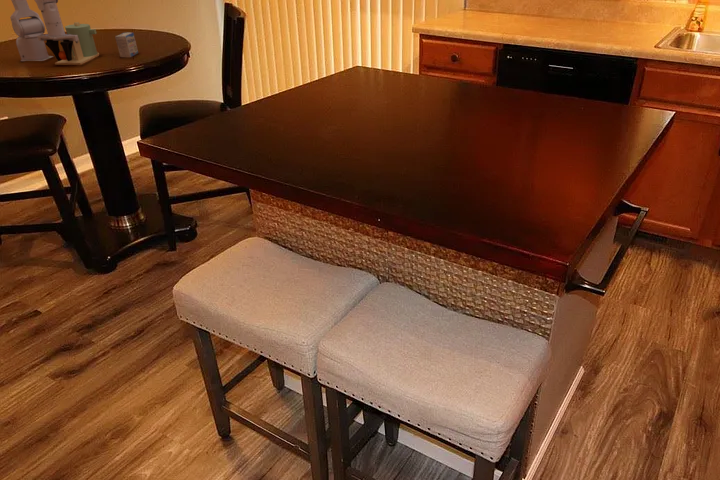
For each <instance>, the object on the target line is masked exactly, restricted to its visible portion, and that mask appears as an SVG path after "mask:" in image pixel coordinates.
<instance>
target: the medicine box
mask: <svg viewBox="0 0 720 480" xmlns="http://www.w3.org/2000/svg"><path fill="white" fill-rule="evenodd" d="M114 37H115V42H116V46H117V49H118V54H119V57H120V58H133V57H135V56H136V55H137V54H139V50H138V46H137V42H136V38H135V33H134V32H127V31H126V32H122V33H119V34H118V35H115V36H114Z"/></svg>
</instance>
